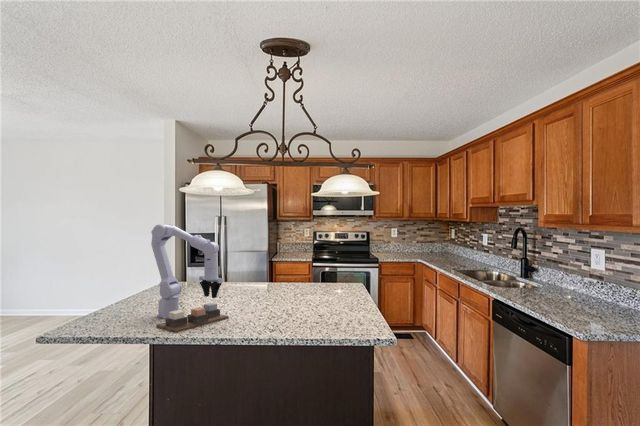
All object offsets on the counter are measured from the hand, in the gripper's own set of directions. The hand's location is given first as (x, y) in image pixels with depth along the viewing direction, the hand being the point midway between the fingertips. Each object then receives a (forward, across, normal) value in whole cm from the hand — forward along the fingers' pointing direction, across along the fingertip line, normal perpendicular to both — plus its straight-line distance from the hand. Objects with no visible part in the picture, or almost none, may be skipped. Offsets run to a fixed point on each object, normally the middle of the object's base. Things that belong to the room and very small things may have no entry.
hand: (210, 297), depth 179 cm
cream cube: (+7, 0, -18) cm, 19 cm away
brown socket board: (+10, 0, -9) cm, 13 cm away
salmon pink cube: (+7, +3, -9) cm, 12 cm away
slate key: (+7, 0, 0) cm, 7 cm away
